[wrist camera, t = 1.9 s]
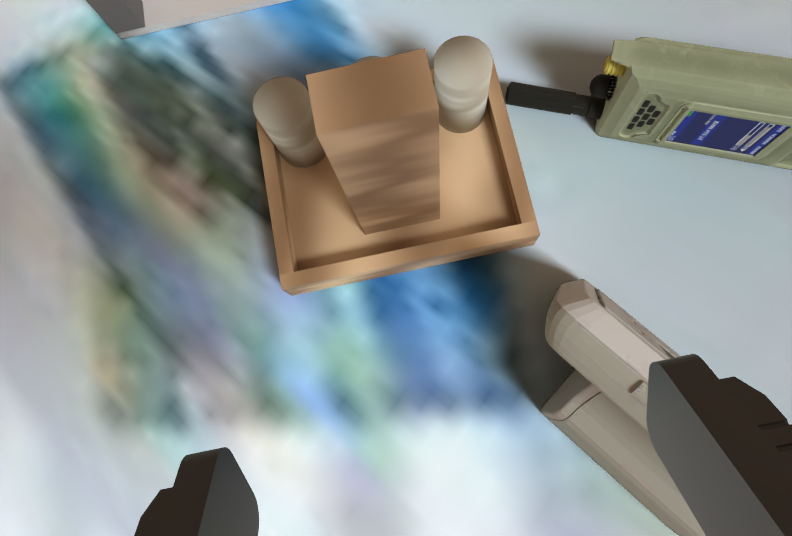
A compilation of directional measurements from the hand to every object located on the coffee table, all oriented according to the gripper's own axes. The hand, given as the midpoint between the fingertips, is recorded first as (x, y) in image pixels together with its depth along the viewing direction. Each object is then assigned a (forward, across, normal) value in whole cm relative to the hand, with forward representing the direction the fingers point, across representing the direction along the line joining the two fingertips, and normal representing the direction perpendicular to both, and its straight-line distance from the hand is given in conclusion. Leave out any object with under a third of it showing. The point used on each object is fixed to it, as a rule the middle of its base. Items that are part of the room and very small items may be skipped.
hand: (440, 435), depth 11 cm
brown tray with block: (+24, 0, +5) cm, 25 cm away
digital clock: (+13, -11, +16) cm, 24 cm away
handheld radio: (+23, -19, +6) cm, 31 cm away
